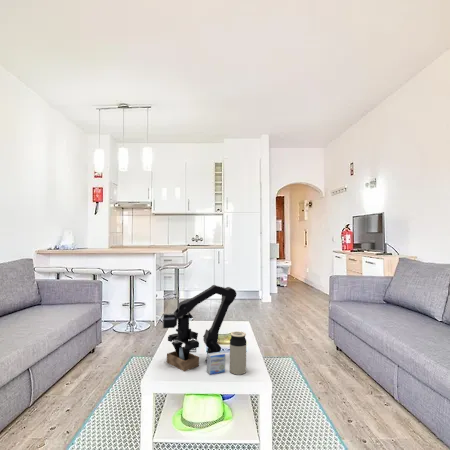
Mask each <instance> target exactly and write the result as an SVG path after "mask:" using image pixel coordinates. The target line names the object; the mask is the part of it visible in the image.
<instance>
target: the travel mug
mask: <svg viewBox="0 0 450 450" xmlns="http://www.w3.org/2000/svg"><path fill="white" fill-rule="evenodd" d="M230 336H231V337H230V339H229V372H230V373H231V374H233V375H244V374H245V373H246V372H247V339H246V336H247V334H246V332H244V331H240V330H238V331H231V333H230Z"/></svg>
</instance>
